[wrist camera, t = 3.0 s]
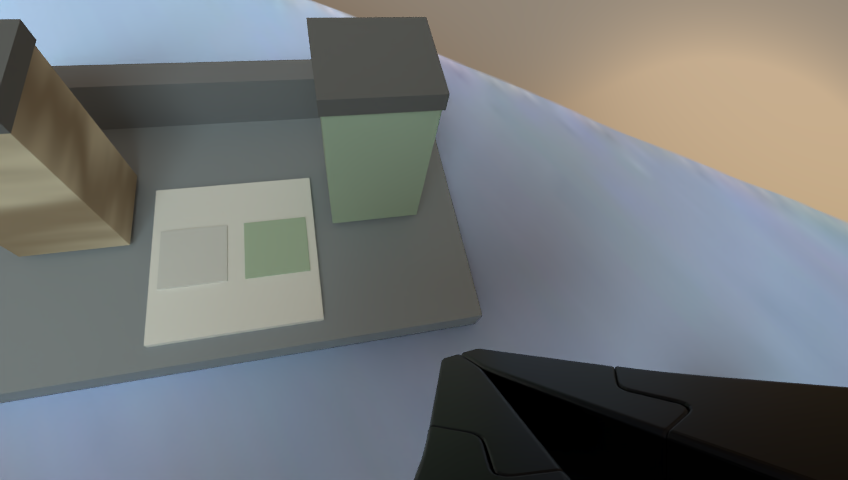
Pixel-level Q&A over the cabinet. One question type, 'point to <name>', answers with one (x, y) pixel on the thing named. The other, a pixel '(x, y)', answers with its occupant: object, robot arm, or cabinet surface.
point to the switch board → (223, 240)
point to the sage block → (376, 111)
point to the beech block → (54, 161)
